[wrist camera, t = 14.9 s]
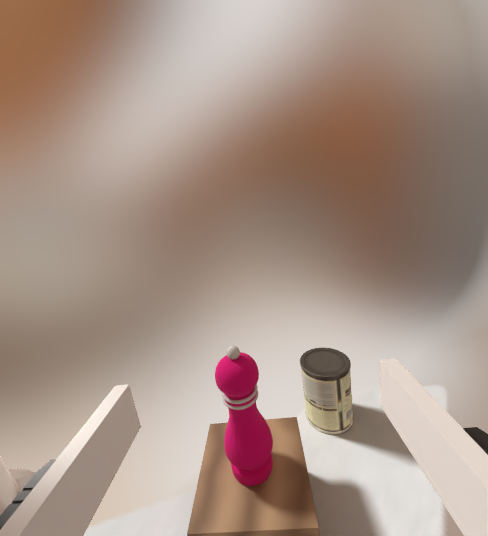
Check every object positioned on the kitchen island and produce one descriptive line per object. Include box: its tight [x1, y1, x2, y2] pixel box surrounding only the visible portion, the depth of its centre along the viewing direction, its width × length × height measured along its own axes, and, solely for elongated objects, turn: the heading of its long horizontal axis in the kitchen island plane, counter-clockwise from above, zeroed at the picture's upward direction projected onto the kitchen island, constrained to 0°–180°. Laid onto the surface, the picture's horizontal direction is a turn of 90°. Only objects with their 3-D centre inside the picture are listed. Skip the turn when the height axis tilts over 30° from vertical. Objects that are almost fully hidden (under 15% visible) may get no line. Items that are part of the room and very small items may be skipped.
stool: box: [187, 417, 319, 536], centre depth 39 cm, size 16×16×10 cm
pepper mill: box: [215, 346, 273, 486], centre depth 35 cm, size 7×7×20 cm
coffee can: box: [300, 348, 353, 434], centre depth 54 cm, size 10×10×14 cm
